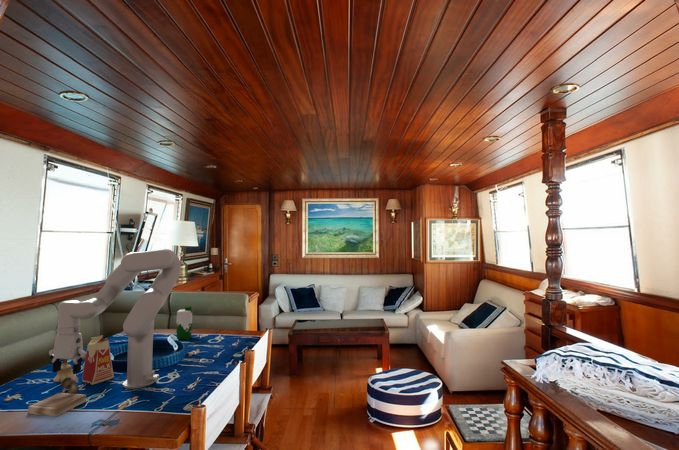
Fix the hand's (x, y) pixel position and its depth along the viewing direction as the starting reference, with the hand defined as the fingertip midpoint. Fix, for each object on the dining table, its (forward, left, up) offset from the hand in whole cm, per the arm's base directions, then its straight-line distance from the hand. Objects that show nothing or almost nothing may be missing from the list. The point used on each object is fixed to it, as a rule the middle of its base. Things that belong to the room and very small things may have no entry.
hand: (66, 372), depth 147 cm
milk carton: (-2, -13, -8) cm, 16 cm away
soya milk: (0, -82, -8) cm, 83 cm away
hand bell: (+14, -12, -8) cm, 20 cm away
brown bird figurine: (-2, +1, -8) cm, 8 cm away
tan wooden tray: (-10, +13, -8) cm, 18 cm away
